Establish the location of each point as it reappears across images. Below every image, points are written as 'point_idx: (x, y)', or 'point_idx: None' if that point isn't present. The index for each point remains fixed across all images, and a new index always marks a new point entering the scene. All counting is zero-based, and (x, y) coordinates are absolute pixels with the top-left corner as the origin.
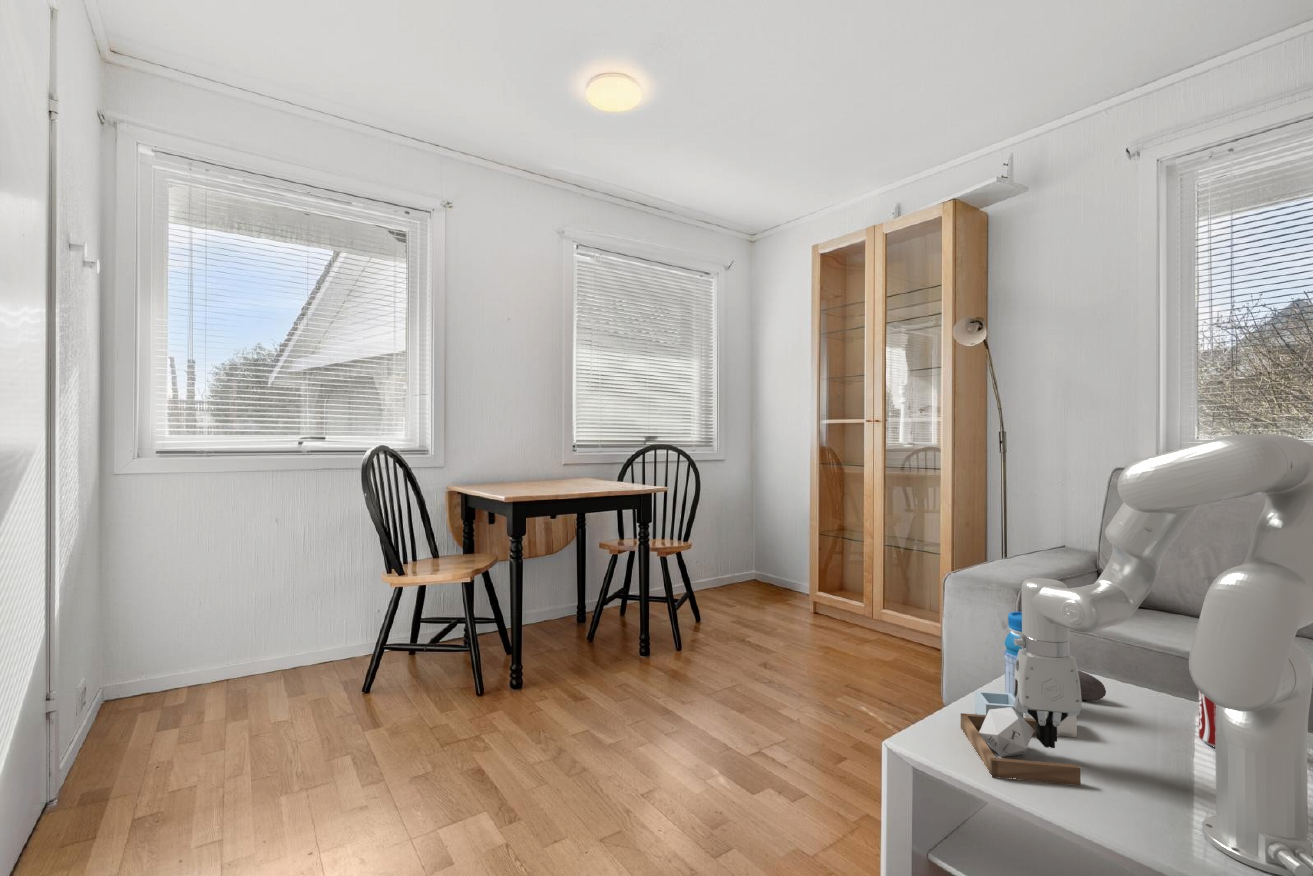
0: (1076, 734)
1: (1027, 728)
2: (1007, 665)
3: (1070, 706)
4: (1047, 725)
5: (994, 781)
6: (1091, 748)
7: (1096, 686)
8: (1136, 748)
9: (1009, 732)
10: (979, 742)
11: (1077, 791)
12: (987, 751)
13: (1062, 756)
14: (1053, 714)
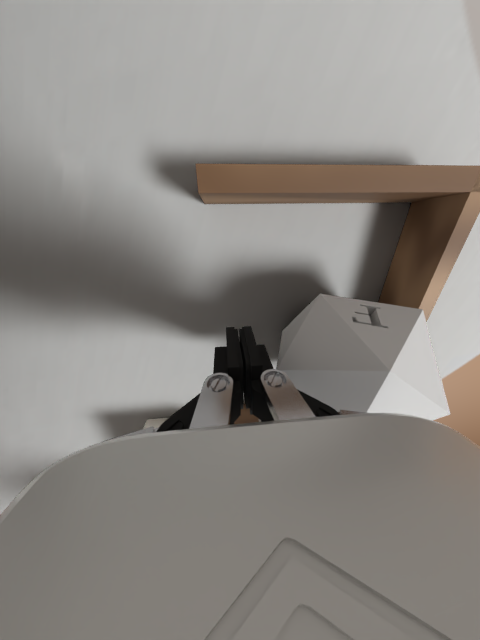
0: (145, 424)
1: (316, 357)
2: None
3: (103, 499)
4: (247, 378)
5: (441, 157)
6: (127, 387)
7: None
8: (33, 408)
9: (392, 320)
10: (433, 302)
11: (224, 137)
12: (461, 240)
13: (199, 340)
14: (228, 422)
